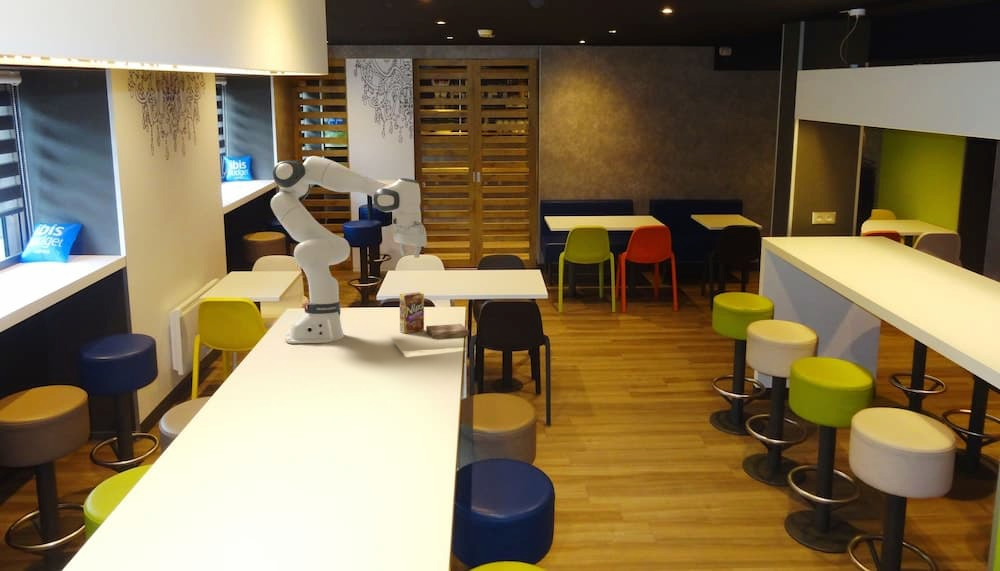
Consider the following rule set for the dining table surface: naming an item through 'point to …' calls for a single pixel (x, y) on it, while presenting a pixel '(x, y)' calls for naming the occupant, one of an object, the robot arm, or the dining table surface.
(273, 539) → the dining table surface
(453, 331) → the walnut dock
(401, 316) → the candy box
